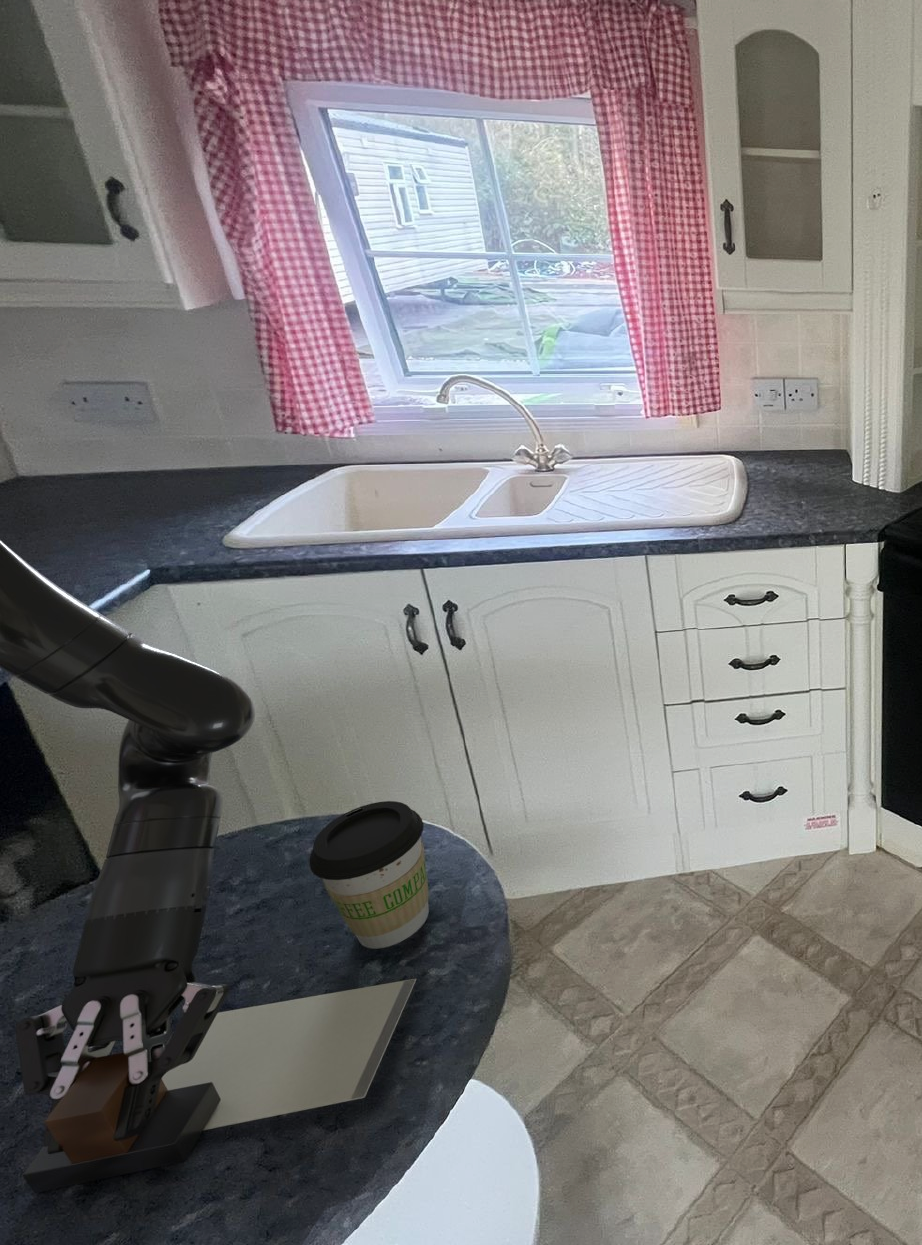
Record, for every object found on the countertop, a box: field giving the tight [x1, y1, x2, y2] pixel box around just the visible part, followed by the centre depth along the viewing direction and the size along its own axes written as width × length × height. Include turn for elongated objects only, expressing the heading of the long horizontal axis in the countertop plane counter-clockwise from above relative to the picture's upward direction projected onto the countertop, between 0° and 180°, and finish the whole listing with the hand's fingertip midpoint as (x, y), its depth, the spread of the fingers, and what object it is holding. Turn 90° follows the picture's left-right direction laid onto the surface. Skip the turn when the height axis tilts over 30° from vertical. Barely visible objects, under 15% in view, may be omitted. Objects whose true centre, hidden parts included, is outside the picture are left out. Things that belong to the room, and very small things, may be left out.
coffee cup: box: [309, 800, 430, 950], centre depth 84 cm, size 10×10×15 cm
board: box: [162, 978, 417, 1131], centre depth 73 cm, size 20×12×2 cm, turn 104°
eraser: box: [21, 1052, 221, 1194], centre depth 64 cm, size 10×5×8 cm, turn 104°
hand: (96, 1142), depth 62 cm, fingers closed on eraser, 3 cm apart
